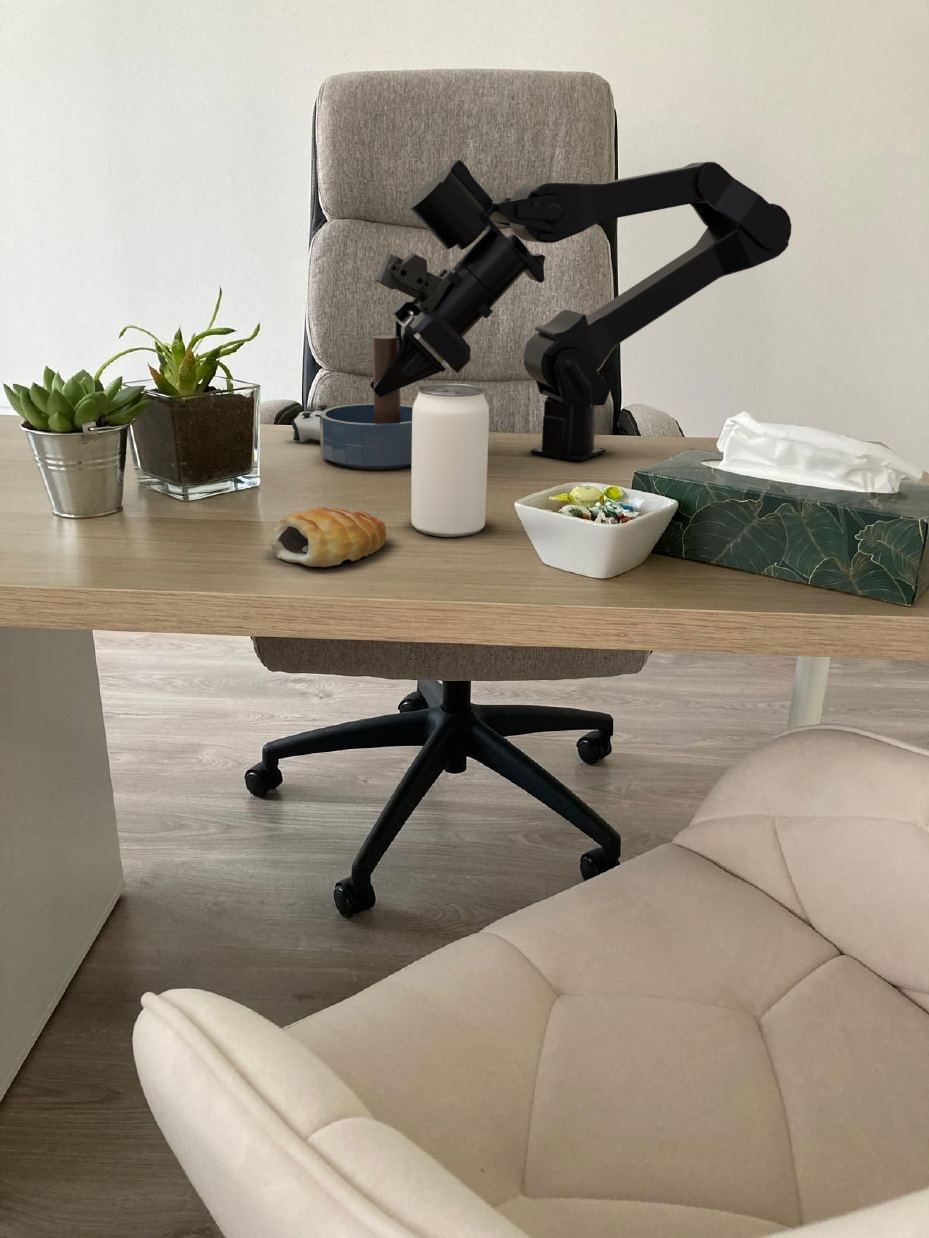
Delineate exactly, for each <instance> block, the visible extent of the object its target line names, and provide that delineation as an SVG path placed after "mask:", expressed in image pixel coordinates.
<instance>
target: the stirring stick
mask: <svg viewBox="0 0 929 1238" xmlns="http://www.w3.org/2000/svg"><path fill="white" fill-rule="evenodd" d="M398 351H399V337H398V336H394V335H392V334H391V335H389V334H387V335H386V334H384V335H374V336H372V362H373V363H372V367H373V371H372V372H373V378H374V387H375V385H376V384H377V382H378V380H379V379H380V377H381V376H382V374H383V373H384V371H385V370H386V369H387V367H388V366H389V364H390V363H391V361H392V360H393V358H394V357H395V355H396V354H397V352H398ZM373 404H374V416H375V424H384V423H400V405H401V388H400V389H398V390H395V391H393V392H391V393H388V394H386V395H384V396H382V397H379V396H378V395H377V394H376V393H375V392H374V391H373Z"/></svg>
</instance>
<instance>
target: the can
mask: <svg viewBox="0 0 929 1238" xmlns="http://www.w3.org/2000/svg"><path fill="white" fill-rule="evenodd" d="M417 391H418V393H417V396H416V398H415V400H414V403H413V404H412V406H413V410H412V466H411V492H410V493H411V495H410V496H411V501H410V503H411V504H410V507H411V511H410V512H411V525H412V526H413V527H414V529H415V530H416V531H417V532H419V533H421V534H424V535H427V536H431V537H439V538H463V537H469V536H473V535H476V534H478V533H480V532H481V531H482V529H483V528H484V527H485V524H486V511H487V507H486V506H487V486H488V485H487V483H488V463H489V457H488V456H489V433H490V432H489V431H490V430H489V429H490V407H489V404H488V402H487V400H486V397H485V392H486V389H485V388H484V387H482V386H478V385H473V384H468V383H467V384H465V383H449V382H448V383H443V382H441V383H428V384H422V385H419V386H418V387H417Z"/></svg>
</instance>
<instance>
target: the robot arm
mask: <svg viewBox="0 0 929 1238" xmlns="http://www.w3.org/2000/svg"><path fill="white" fill-rule="evenodd" d="M686 205H687V206H688V205H689V206H691V207H692V208H693V211H694V212H695V213H696V214H697V216H698V217H699V219H700V221H701V222H702V223H703V224H704V225H705V226H706V227H707V228H706V229H705V230H704V232H703V234H702V235H701V236H700V238H699V240H698V241H697V242H696V243H695V244H694V246H692V247H691V248H690V249H688V250H686V251H685V252H683V253H682V254H681V255H679V256H677V257H676V258H675V259H673V260H671V261H670V262H668V263H667V264H665V265H664V266H662V267H661V268H660V269H657V270H656V271H654V272H653V273H651V274H650V275H648V276H647V277H645V278H643V279H642V280H641V281H639V282H638V283H636V284H635V285H633V286H631V287H630V288H628V289H627V290H626V291H625V290H624V292H623V293H621V294H619V295H617V296H616V297H614V298H613V299H612V300H610V301H608V302H607V303H606V304H604V305H603V306H601V307H599V308H598V309H596V310H594V311H593V312H591V313H589V314H585V313H582V312H577V311H574V310H569V309H563V310H562V311H560V312H559V313H557V314H556V315H555V316H554V317H553V318H552V319H551V320H550V321H548V322H547V323H545V324H543V325H538V326H535V327H534V331H536V332H537V333H535V334H534V335H532V337H530V338H529V339H528V341H527V342H526V344H525V347H524V351H523V365H524V369H525V371H526V372H527V374H528V375H529V377H531V378H532V379H533V380H535V383H536V386H537V390H538V393H539V394H540V395H544V396H545V397H546V398H545V400H544V402H543V403H544V405H543V406H544V407H543V417H542V435H541V437H542V438H541V445H539V446H536V447H533V448H530V454H532V455H538V456H543V457H544V456H545V457H550V458H555V459H560V460H566V461H572V462H581V461H585V460H587V459H590V458H593V457H596V456H599V455H601V454H605V453H606V450H607V448H605V447H601V446H596V445H595V436H596V424H597V423H596V421H597V406H605V405H606V402H607V400H608V397H609V395H610V392H611V390H612V386H611V385H610V383H609V382H608V381H607V380H606V379H605V378H604V377H603V376H602V375H601V374H600V373H599V372H598V371H599V369H600V368H602V366H603V365H604V364H605V362H606V361H607V360H608V358H609V356H610V355H611V353H612V352H613V350H614V349H615V348H616V347H617V346H618V345H619V344H621V343H622V342H624V341H626V340H627V339H629V338H630V337H632V336H633V335H634V334H636V333H638V332H639V331H641V330H642V329H644V328H646V327H647V326H648V325H650V324H651V323H653V322H654V321H656V320H658V319H659V318H661V317H662V316H663V315H665V314H667V313H668V312H670V311H671V310H673V309H675V308H676V307H677V306H679V305H680V304H682V303H684V302H685V301H687V300H689V298H691V297H693V296H695V295H697V293H699V292H700V291H702V290H703V289H705V288H707V287H709V286H710V285H711V284H713V283H714V282H716V281H718V280H719V279H720V278H723V277H725V276H729V275H733V274H736V273H740V272H743V271H747V270H749V269H752V268H756V267H757V266H760V265H762V264H765V263H766V262H769V261H771V260H774V259H776V258H778V257H780V256H781V255H782V254H783V253H784V252H785V251H786V250H787V249H788V247H789V245H790V239H791V236H792V221H791V217H790V216H789V213H788V212H787V210H785V208H784V207H782V206H781V205H779V204H776V203H770V202H768V201H767V200H766V199H765V198H764V197H763V196H762V195H761V194H759V193H758V192H756V191H755V190H753V189H751V187H748V186H747V185H745V184H744V183H742V182H741V181H739V180H738V179H736V178H735V177H733V176H732V175H731V174H730V173H729V172H728V171H727V170H726V169H725V168H724V167H723V166H722V165H721V164H719V163H718V162H715V161H700V162H691V163H689V164H686V165H685V166H683V167H682V166H681V167H677V168H673V169H672V168H671V169H667V170H662V171H661V170H660V171H657V172H656V171H655V172H650V173H646V174H645V173H644V174H639V175H634V176H629V177H623V178H619V179H613V180H607V181H603V182H602V181H601V182H597V183H579V182H578V183H577V182H543V183H541V182H540V183H528V184H525V185H522V186H520V187H519V188H517V189H516V190H515V192H514V193H513V194H512V196H511V197H506V196H505V197H503V196H502V197H492V198H491V196H490V195H489V194H488V193H487V192H486V191H485V190H484V188H483V187H482V185H480V184H479V182H478V181H477V180H476V179H475V177H474V176H473V175H472V173H471V171H470V170H469V168H468V167H467V166H466V165H465V163H464V162H463V160H461V159H457V160H452V161H451V163H450V164H449V165H448V166H447V167H446V168H445V169H443V170H442V171H441V172H439V173H438V174H437V175H436V176H435V177H434V178H433V179H432V180H430V181H427V182H426V183H425V184H424V185H423V186H422V187H420V189H419V190H418V192H417V193H416V194H415V196H413V198H412V200H411V201H410V203H409V205H408V209H409V210H410V211H411V212H412V213H413V215H414V216H415V217H416V218H417V219H418V220H419V221H420V222H421V223H422V224H423V225H424V226H425V227H426V228H427V229H428V230H429V232H430V233H431V234H432V235H433V236H434V237H435V238H436V239H437V240H438V242H439V243H440V244H441V245H442V246H443V247H444V248H445V249H446V250H450V249H452V248H454V247H456V246H457V248H458V249H459V250H460V251H463V250H465V249H467V248H468V247H470V246H471V245H472V244H473V243H474V242H475V241H476V242H475V243H474V244H473V245H472V246H471V247H470V248H469V249H468V251H466V253H465V254H464V255H463V256H462V257H461V258H460V259H459V260H458V261H457V262H456V263H455V264H454V265H453V266H452V267H451V268H442V269H441V270H440V271H439V272H438V273H437V274H436V275H435V274H434V273H431V272H429V271H428V260H427V259H425V258H424V257H421V256H419V255H417V254H415V253H413V252H411V253H410V254H409V255H407V256H406V257H405V258H401V257H399V256H397V255H395V254H392V253H390V252H387V254H386V256H385V258H384V261H383V262H382V265H381V268H380V270H379V273H378V275H377V276H376V280H375V282H376V283H378V284H380V285H382V286H384V287H386V288H388V289H390V290H392V291H394V290H397V291H399V292H401V293H403V294H405V295H408V296H409V297H411V299H410V298H409V299H408V298H407V299H405V298H404V299H401V300H400V301H399V302H397V304H396V305H395V306H394V308H392V309H391V310H390V313H392V315H393V316H395V318H397V319H395V318H393V320H392V324H393V334H394V335H393V336H398V337H399V351H398V352H397V354H396V355H395V357H394V358H393V360H392V361H391V363H390V364H389V366H388V367H387V369H386V370H385V371H384V373H383V374H382V376H381V377H380V379H379V380H378V382H377V384H376V385H375V387H374V377H373V378H372V380H371V381H370V383H369V386H370V388H371V389H372V391H373V393H374V392H375V393H376V394H377V395H378V396H379V397H382V396H384V395H386V394H388V393H391V392H393V391H395V390H398V389H400V390H401V389H403V388H405V387H408V386H409V385H411V384H414V383H416V382H419V381H422V380H424V379H427V378H429V377H431V376H434V375H436V374H439V373H444V372H446V371H447V368H446V367H445V366H444V365H443V364H442V363H443V362H445V363H446V364H447V365H448V367H450V368H451V370H453V371H454V372H455V373H456V374H459V373H460V372H461V370H463V368H464V367H465V366H467V364H468V363H469V362H470V361H471V346H470V345H469V344H468V343H467V342H466V339H465V338H464V337H465V336H466V335H467V333H469V332H470V330H472V329H473V327H474V326H475V325H476V324H477V323H478V322H479V321H480V320H481V319H482V318H484V319H488V318H489V317H490V316H491V315H492V313H494V311H493V310H492V309H491V308H493V306H494V305H495V304H496V303H497V302H498V301H499V300H500V299H501V297H503V295H504V294H506V292H507V291H508V290H509V289H510V288H511V287H512V286H513V285H514V284H515V283H516V282H517V281H518V280H519V279H520V278H521V277H522V275H524V274H525V275H526V277H528V278H529V279H530V280H532V281H535V282H537V283H540V284H541V283H543V282H544V281H545V279H546V277H545V262H546V255H544V254H541V253H539V252H538V253H532V252H531V251H530V250H529V248H528V247H527V246H526V245H525V243H523V241H525V242H533V243H541V244H542V243H543V244H554V243H559V242H561V241H563V240H565V239H568V238H570V237H573V236H575V235H578V234H580V233H583V232H584V231H586V230H588V229H590V228H592V227H594V226H595V225H598V224H600V223H603V222H605V221H609V220H613V219H618V218H619V219H620V218H624V217H630V216H635V215H640V214H645V213H650V212H655V211H660V210H665V209H671V208H676V207H681V206H686ZM496 224H498V225H503V226H507V227H510V229H511V231H513V234H510V235H508V236H506V235H505V234H504V233H503V231H501V230H500V229H499V227H498V226H497V225H496ZM485 230H486V231H485ZM484 231H485V232H484ZM483 232H484V233H483ZM482 233H483V234H482ZM479 237H480V238H479ZM477 239H478V240H477ZM397 320H399V321H400V323H399V321H397Z"/></svg>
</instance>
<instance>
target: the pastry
mask: <svg viewBox="0 0 929 1238" xmlns="http://www.w3.org/2000/svg"><path fill="white" fill-rule="evenodd" d="M278 521H279V522H278V524H277V526H276V527H275V528H274V530H273V532H272V533H273V534H272V536H271V537H270V547H271V549H272V550H273V552H274V553H275V556H276V558H277V559H278V560H282V561H285V562H287V563H299V564H301V565H304V566H307V567H314V568H316V567H320V568H330V567H332V566H338V565H341V564H342V562H344V561H345V560H349V561H351V562H354V561H357V560H360V559H361V558H362V557H366V558H367V557H368V556H369V555H372V554H373V553H375V552H378V551H379V550H380V549H381V548H382V547H383V545H384V544H385V543H386V540H387V529H386V528H387V527H386V524H385V523H384V521H382V520H380V519H379V518H377V517H375V516H372V515H371V514H370V513H368V512H365V511H361V510H355V511H350V510H349V509H346V508H344V509H343V508H341V509H340V508H327V507H321V506H319V507H316V508H310V509H308V510H307V511H297V512H293V513H290V514H289V515H288V516H284V517H281V518H280V519H279V520H278Z"/></svg>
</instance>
